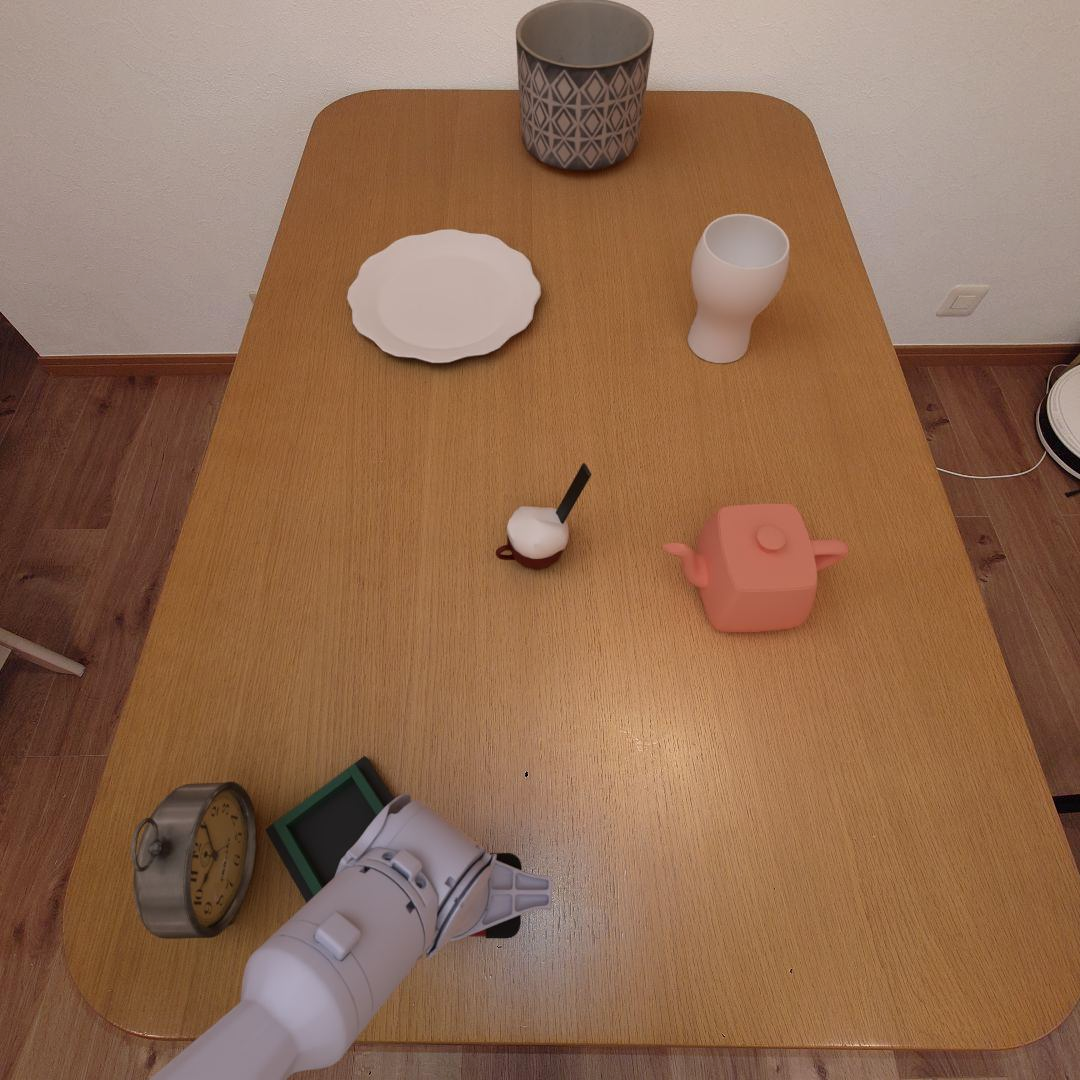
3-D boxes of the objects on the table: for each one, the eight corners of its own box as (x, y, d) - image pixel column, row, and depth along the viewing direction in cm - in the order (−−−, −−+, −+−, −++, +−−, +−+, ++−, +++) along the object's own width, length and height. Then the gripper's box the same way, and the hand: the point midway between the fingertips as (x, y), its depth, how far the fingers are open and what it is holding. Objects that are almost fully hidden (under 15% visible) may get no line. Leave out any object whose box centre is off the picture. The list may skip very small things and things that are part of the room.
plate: (369, 390, 88) (365, 379, 86) (338, 260, 100) (335, 248, 98) (563, 347, 91) (563, 336, 90) (511, 227, 104) (510, 215, 102)
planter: (652, 124, 117) (667, 8, 103) (622, 193, 107) (635, 76, 93) (540, 104, 120) (540, -11, 106) (502, 170, 111) (496, 53, 96)
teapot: (836, 634, 71) (879, 588, 62) (657, 644, 71) (673, 598, 62) (808, 536, 77) (843, 480, 68) (642, 544, 77) (656, 489, 68)
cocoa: (497, 579, 75) (490, 517, 64) (497, 527, 78) (490, 461, 67) (588, 576, 75) (595, 514, 64) (584, 525, 78) (590, 458, 68)
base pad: (321, 923, 59) (312, 921, 56) (269, 831, 62) (258, 826, 60) (422, 841, 62) (418, 836, 59) (367, 758, 65) (361, 751, 63)
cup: (663, 355, 91) (683, 254, 78) (693, 303, 95) (717, 200, 82) (743, 383, 88) (778, 284, 75) (770, 328, 93) (807, 226, 80)
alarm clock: (247, 939, 58) (153, 934, 44) (180, 941, 58) (65, 935, 44) (270, 798, 64) (193, 753, 50) (209, 799, 63) (115, 755, 49)
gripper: (552, 821, 48) (550, 848, 60) (338, 819, 48) (377, 847, 60) (552, 940, 45) (550, 944, 56) (321, 939, 45) (367, 943, 57)
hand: (461, 900), depth 58 cm, fingers closed on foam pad, 5 cm apart
